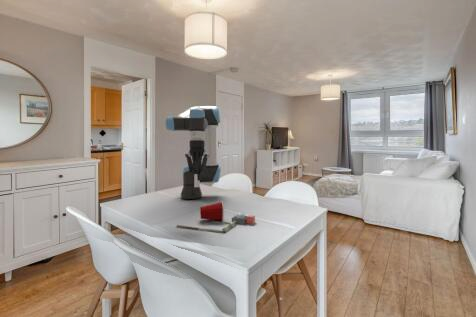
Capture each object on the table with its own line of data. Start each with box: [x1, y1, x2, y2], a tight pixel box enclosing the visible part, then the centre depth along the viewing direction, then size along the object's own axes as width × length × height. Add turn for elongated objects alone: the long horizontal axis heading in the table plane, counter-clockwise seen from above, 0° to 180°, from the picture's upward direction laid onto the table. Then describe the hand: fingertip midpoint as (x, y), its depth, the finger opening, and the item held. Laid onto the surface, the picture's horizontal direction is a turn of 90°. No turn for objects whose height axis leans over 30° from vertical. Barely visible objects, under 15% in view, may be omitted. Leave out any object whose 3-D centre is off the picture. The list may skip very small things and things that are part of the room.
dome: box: [235, 212, 246, 219], centre depth 127 cm, size 5×5×5 cm
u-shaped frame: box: [175, 219, 237, 234], centre depth 121 cm, size 15×25×2 cm, turn 69°
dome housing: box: [231, 214, 256, 227], centre depth 126 cm, size 7×11×4 cm, turn 69°
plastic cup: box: [199, 200, 225, 222], centre depth 128 cm, size 11×11×12 cm
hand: (197, 186), depth 123 cm, fingers closed
